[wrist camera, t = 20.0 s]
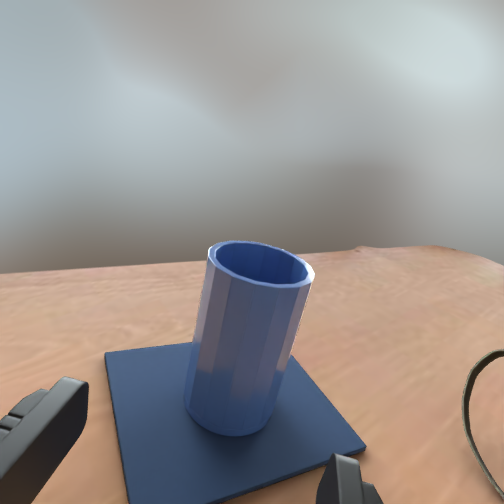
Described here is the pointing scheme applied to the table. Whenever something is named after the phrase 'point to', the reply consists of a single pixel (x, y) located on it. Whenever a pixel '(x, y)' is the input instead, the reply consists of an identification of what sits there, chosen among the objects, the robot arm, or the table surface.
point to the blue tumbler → (244, 335)
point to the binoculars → (465, 408)
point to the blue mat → (208, 443)
